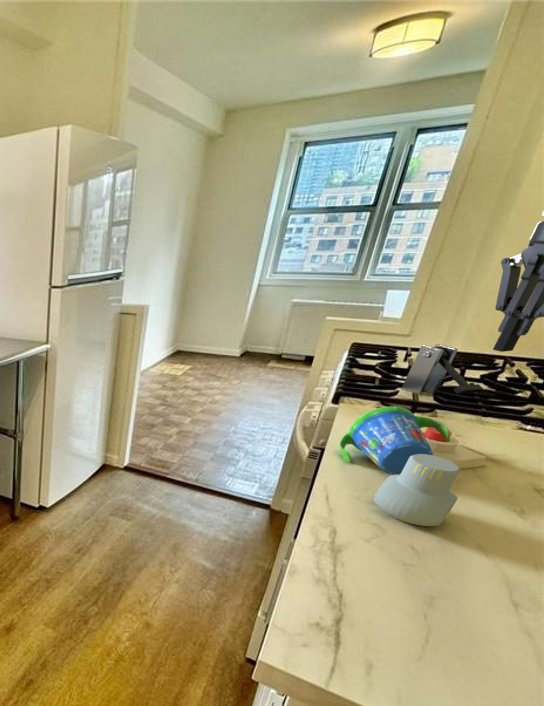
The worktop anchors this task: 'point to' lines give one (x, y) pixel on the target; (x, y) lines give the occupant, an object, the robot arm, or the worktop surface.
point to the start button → (434, 435)
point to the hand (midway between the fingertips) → (502, 350)
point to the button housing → (455, 453)
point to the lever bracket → (428, 369)
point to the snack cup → (390, 437)
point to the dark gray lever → (457, 377)
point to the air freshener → (420, 491)
